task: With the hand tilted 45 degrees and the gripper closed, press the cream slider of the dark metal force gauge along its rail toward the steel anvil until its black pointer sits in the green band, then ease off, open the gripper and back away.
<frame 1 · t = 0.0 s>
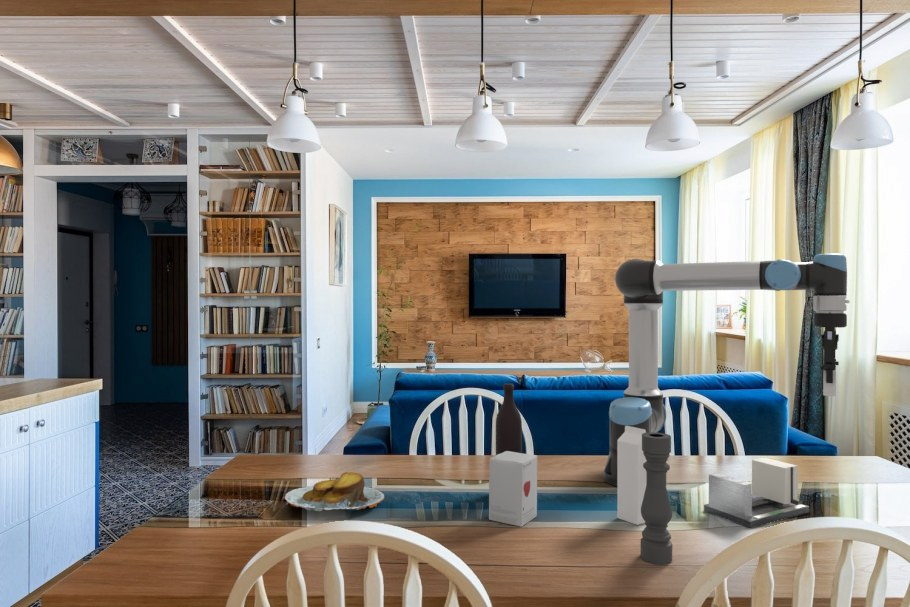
hand: (829, 392, 162), 28 cm above the table, tool pointing down, fingers open, 13 cm apart
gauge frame: (756, 511, 152), on the table
wine bottle: (508, 495, 165), on the table
candle holder: (656, 559, 124), on the table
supplement box: (513, 519, 147), on the table
milk: (635, 519, 147), on the table
food on plate: (335, 505, 158), on the table
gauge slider: (777, 481, 154), point 7 cm above the table, slide at 0.0 cm
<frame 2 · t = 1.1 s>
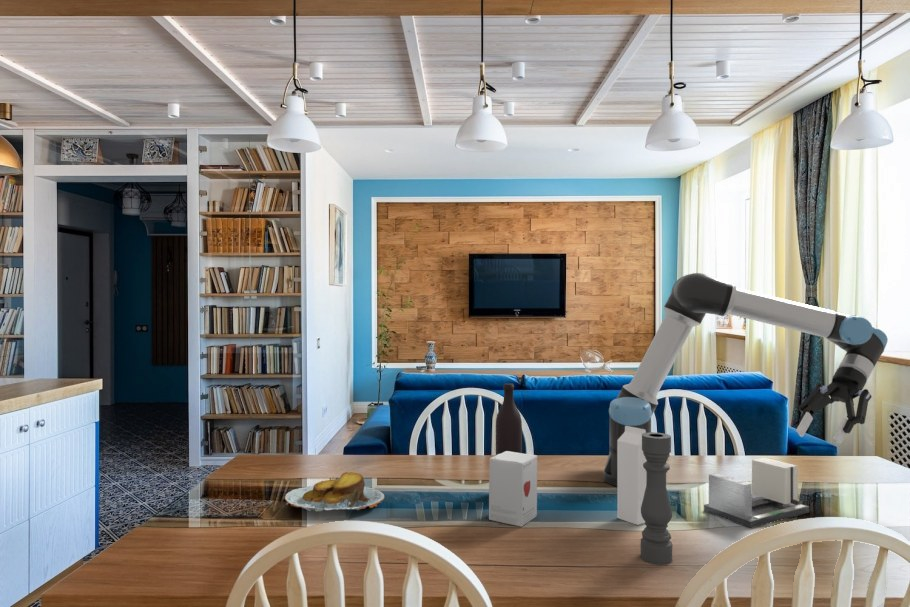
hand: (817, 437, 163), 16 cm above the table, tool tilted 45°, fingers open, 9 cm apart
nothing on the table moved.
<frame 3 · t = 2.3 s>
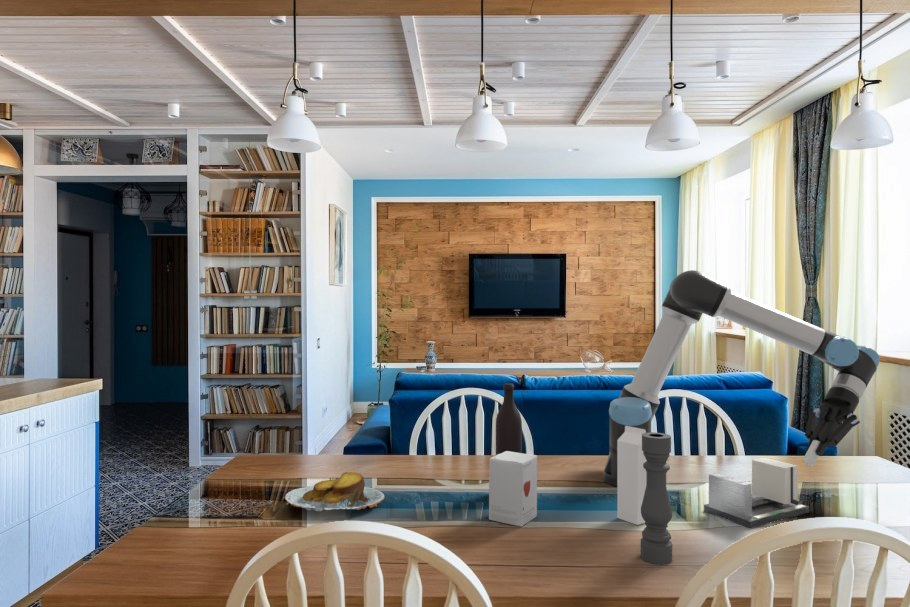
hand: (807, 463, 160), 10 cm above the table, tool tilted 45°, fingers closed
nothing on the table moved.
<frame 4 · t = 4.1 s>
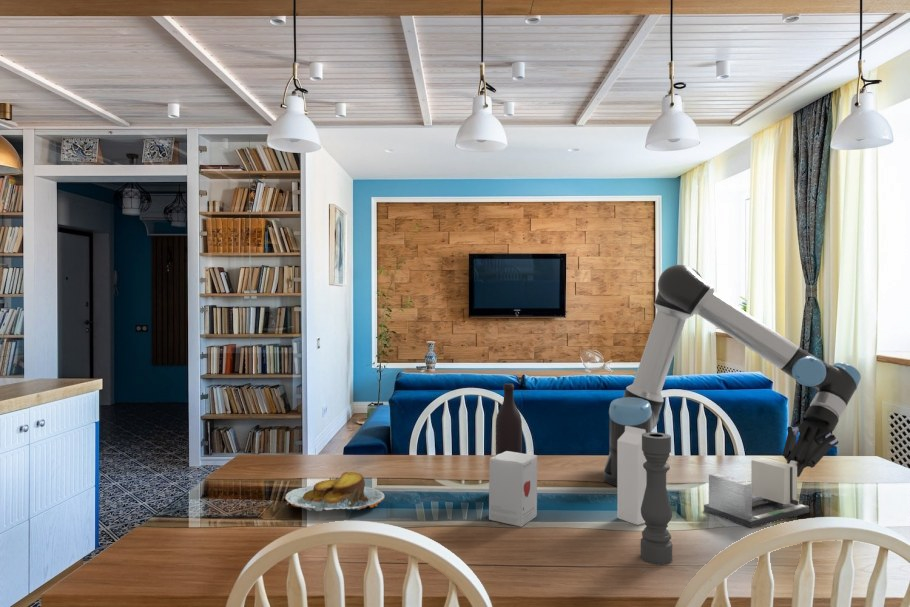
hand: (784, 484, 156), 5 cm above the table, tool tilted 45°, fingers closed
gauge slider: (777, 481, 154), point 7 cm above the table, slide at 0.3 cm, touching gripper
everything else where it was.
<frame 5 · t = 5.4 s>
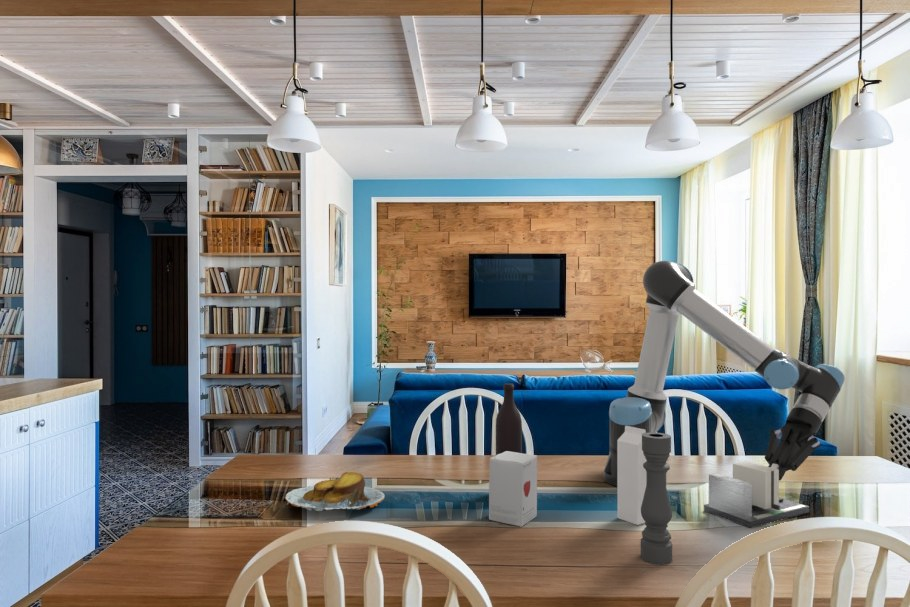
hand: (766, 488, 153), 5 cm above the table, tool tilted 45°, fingers closed
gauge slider: (758, 485, 151), point 7 cm above the table, slide at 7.4 cm, touching gripper
everything else where it was.
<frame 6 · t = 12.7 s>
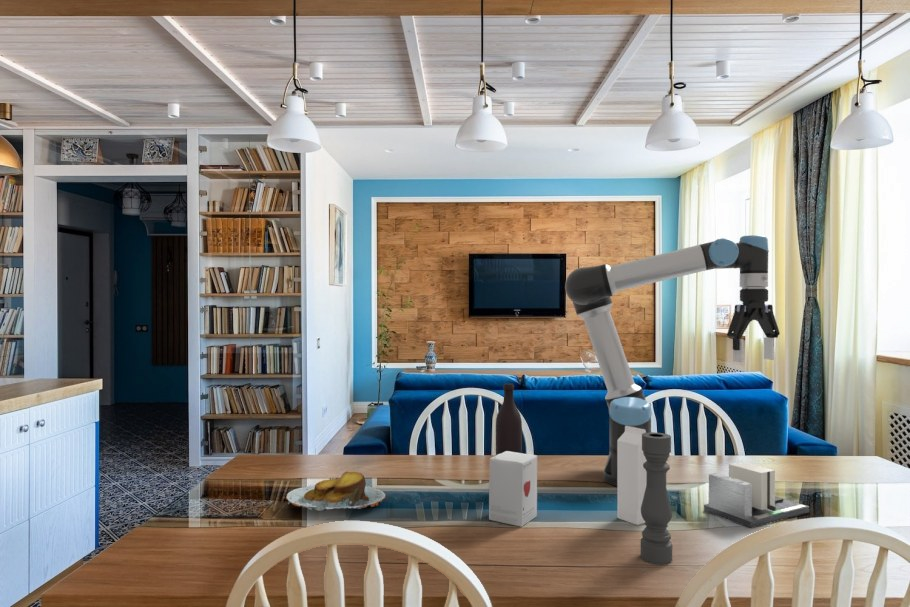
hand: (753, 360, 180), 35 cm above the table, tool pointing down, fingers open, 13 cm apart
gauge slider: (754, 486, 150), point 7 cm above the table, slide at 8.9 cm
everything else where it was.
at the end: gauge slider slide at 8.9 cm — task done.
